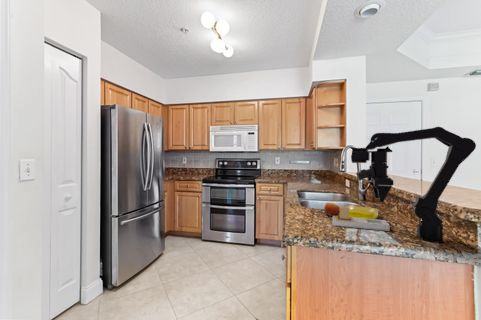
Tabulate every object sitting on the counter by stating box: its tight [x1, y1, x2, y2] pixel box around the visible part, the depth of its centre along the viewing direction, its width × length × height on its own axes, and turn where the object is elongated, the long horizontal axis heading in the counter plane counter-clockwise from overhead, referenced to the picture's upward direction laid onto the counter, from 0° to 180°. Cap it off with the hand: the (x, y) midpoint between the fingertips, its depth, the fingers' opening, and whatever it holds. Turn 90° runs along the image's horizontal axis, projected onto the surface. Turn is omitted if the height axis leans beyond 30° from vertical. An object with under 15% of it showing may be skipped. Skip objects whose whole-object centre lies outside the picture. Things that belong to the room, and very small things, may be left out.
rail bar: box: [332, 215, 391, 232], centre depth 100 cm, size 22×8×3 cm, turn 68°
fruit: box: [323, 202, 340, 218], centre depth 118 cm, size 8×8×8 cm
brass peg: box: [338, 205, 349, 220], centre depth 102 cm, size 4×4×8 cm
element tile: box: [347, 204, 379, 220], centre depth 116 cm, size 15×15×5 cm
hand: (378, 200), depth 93 cm, fingers open, 9 cm apart
